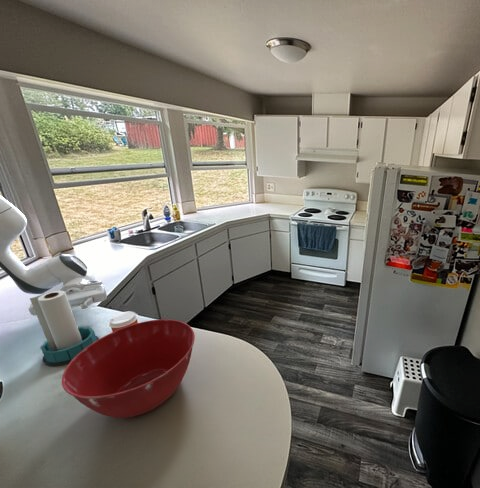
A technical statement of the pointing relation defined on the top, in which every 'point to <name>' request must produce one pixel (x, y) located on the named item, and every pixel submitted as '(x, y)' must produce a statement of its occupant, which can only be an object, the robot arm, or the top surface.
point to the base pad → (68, 349)
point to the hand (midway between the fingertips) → (65, 310)
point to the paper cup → (123, 320)
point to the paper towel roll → (56, 320)
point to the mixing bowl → (131, 368)
